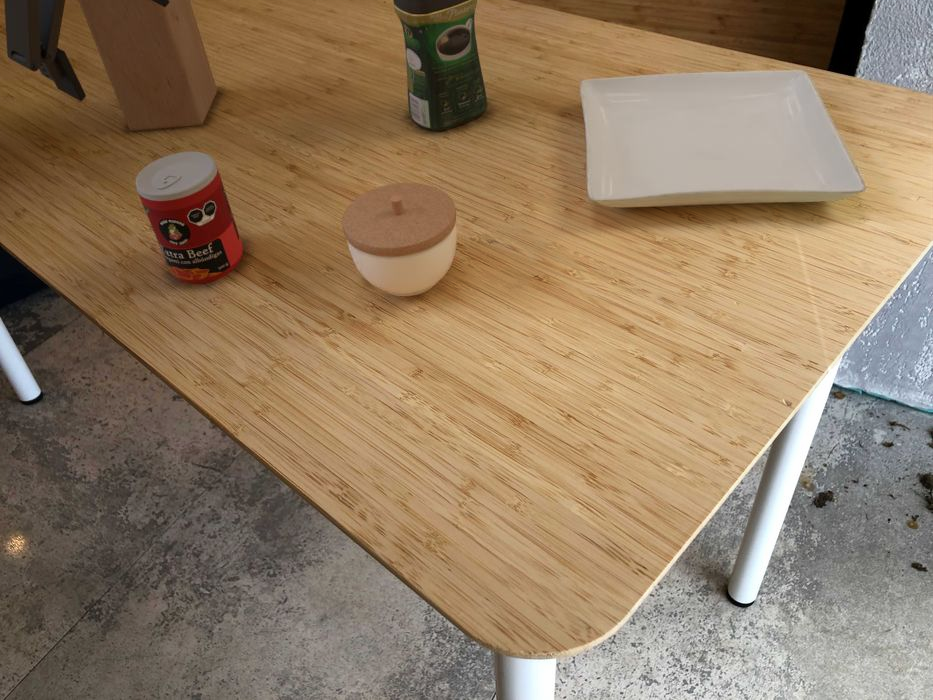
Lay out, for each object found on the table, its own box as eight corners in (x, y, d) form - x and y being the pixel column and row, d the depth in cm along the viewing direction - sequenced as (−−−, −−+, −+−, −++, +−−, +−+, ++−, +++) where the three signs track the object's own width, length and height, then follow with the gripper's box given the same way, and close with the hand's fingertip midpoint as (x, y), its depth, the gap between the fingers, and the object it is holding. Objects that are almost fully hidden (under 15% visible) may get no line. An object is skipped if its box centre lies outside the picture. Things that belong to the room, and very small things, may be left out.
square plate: (862, 220, 85) (871, 187, 82) (587, 229, 88) (587, 197, 85) (802, 93, 105) (808, 63, 102) (578, 103, 107) (578, 74, 105)
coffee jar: (464, 92, 112) (450, -55, 100) (496, 115, 107) (487, -38, 94) (400, 116, 109) (378, -34, 96) (430, 140, 104) (411, -14, 91)
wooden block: (203, 127, 112) (151, -30, 98) (129, 133, 112) (67, -22, 98) (218, 91, 119) (173, -59, 105) (149, 97, 119) (94, -52, 106)
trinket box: (387, 328, 79) (371, 247, 73) (338, 272, 86) (319, 194, 80) (483, 284, 83) (476, 203, 76) (428, 233, 90) (417, 155, 83)
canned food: (159, 286, 87) (120, 194, 79) (188, 239, 93) (154, 150, 85) (230, 287, 86) (197, 195, 78) (254, 240, 92) (226, 150, 84)
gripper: (-29, -13, 60) (67, 153, 80) (178, -216, 69) (219, -21, 89) (-117, -61, 61) (0, 116, 80) (100, -256, 69) (157, -53, 89)
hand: (115, 44), depth 85 cm, fingers open, 13 cm apart
